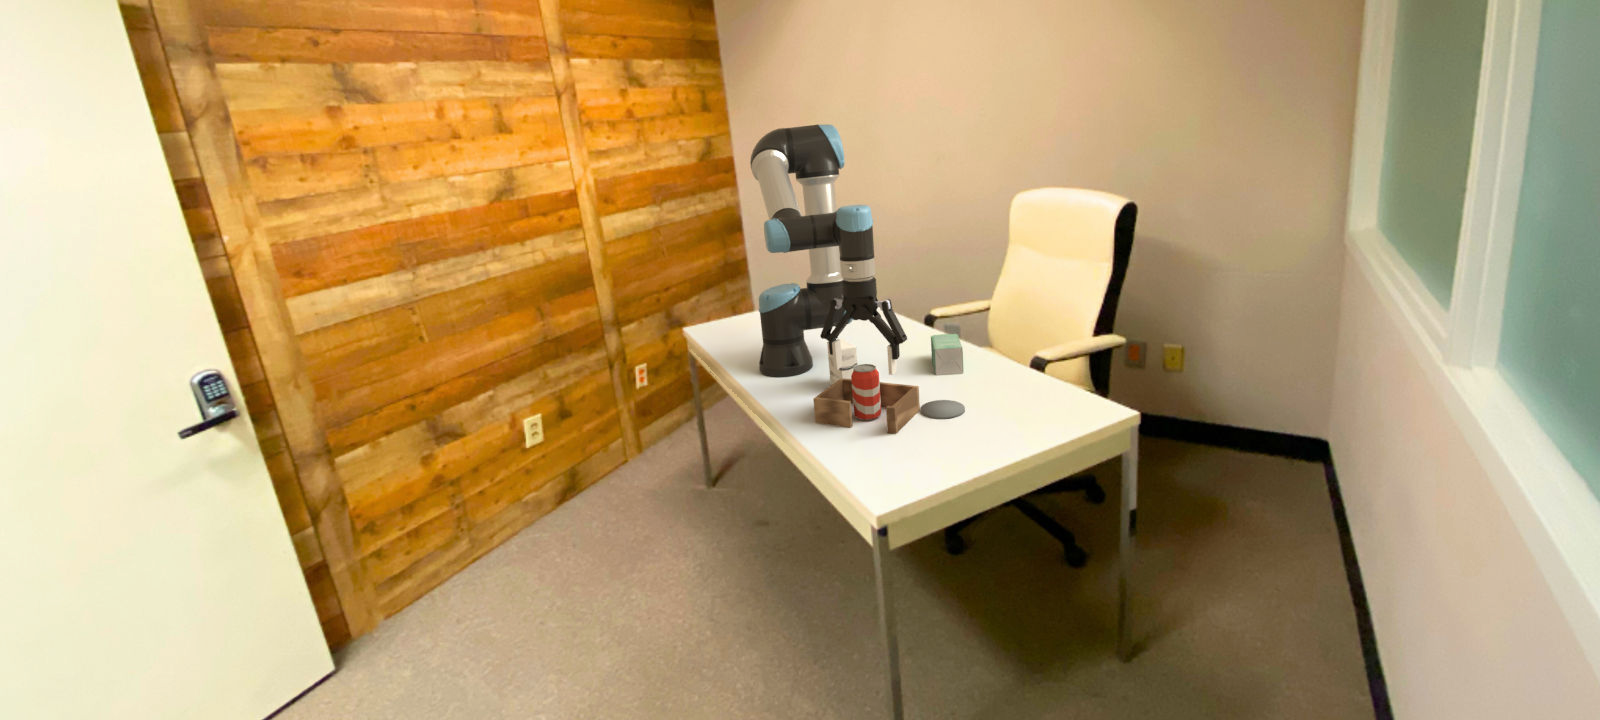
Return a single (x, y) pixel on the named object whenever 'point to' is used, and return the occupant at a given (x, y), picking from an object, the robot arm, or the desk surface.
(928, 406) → the coaster
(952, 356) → the box
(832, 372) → the ink box
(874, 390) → the beverage can
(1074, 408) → the desk surface
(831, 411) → the wooden enclosure
